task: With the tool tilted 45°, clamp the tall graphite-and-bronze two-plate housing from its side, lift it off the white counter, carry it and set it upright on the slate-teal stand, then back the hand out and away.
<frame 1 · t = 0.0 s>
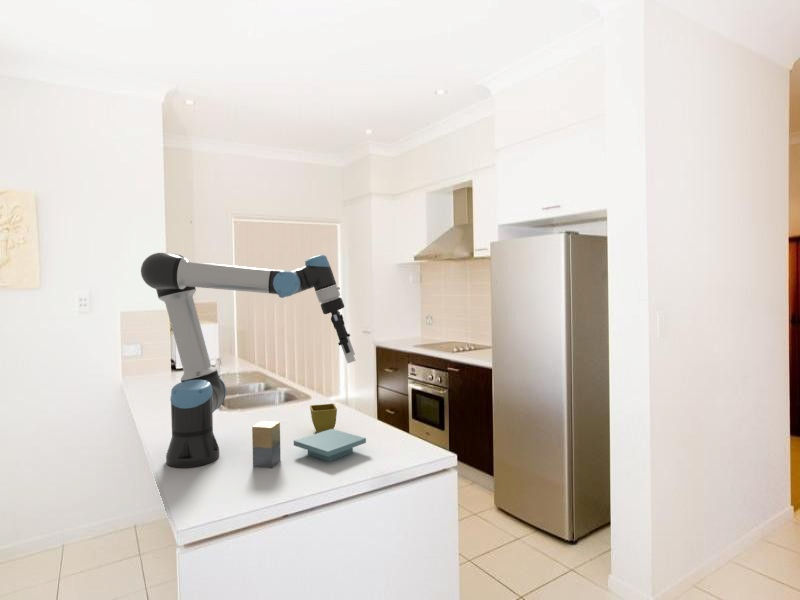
hand: (351, 358, 172), 28 cm above the counter, tool tilted 20°, fingers open, 13 cm apart
housing: (267, 463, 151), on the counter
flower pot: (323, 432, 182), on the counter
teal stand: (330, 453, 159), on the counter
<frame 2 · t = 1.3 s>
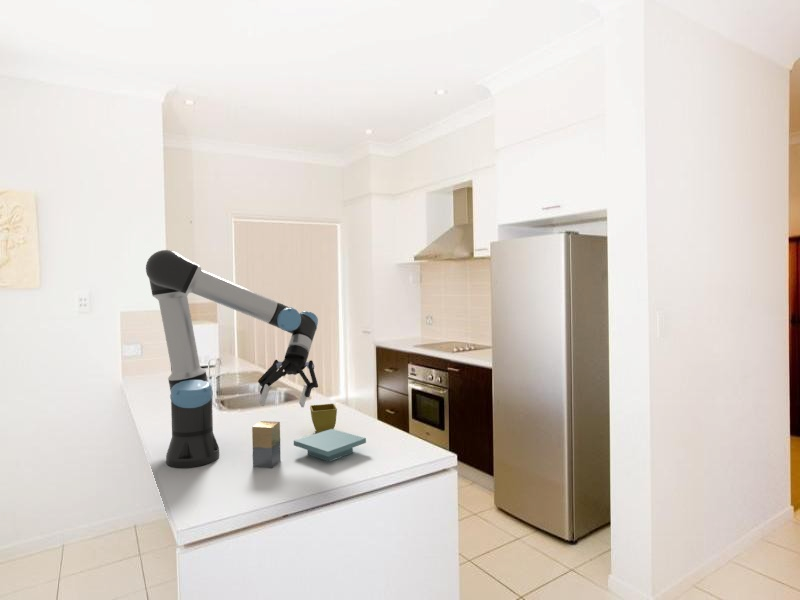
hand: (281, 404, 161), 15 cm above the counter, tool tilted 45°, fingers open, 13 cm apart
nothing on the counter moved.
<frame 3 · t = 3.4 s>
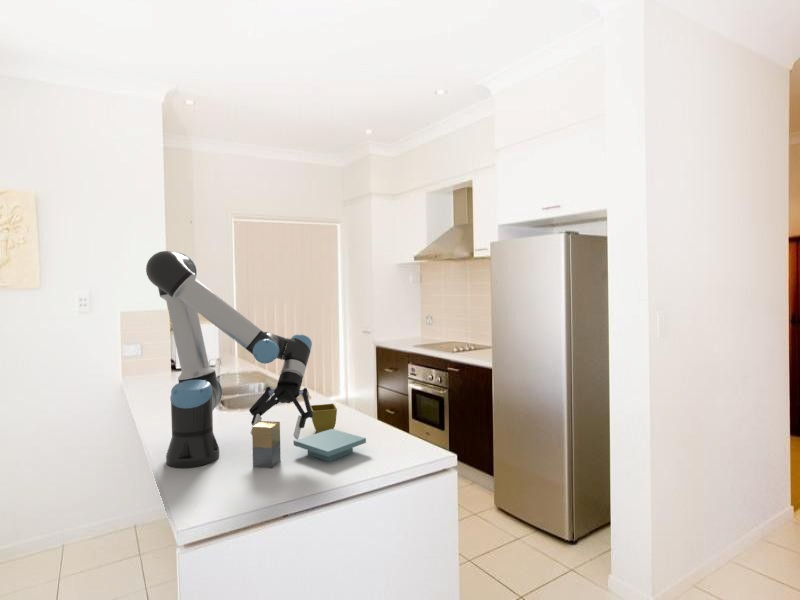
hand: (274, 436, 152), 8 cm above the counter, tool tilted 45°, fingers open, 13 cm apart
nothing on the counter moved.
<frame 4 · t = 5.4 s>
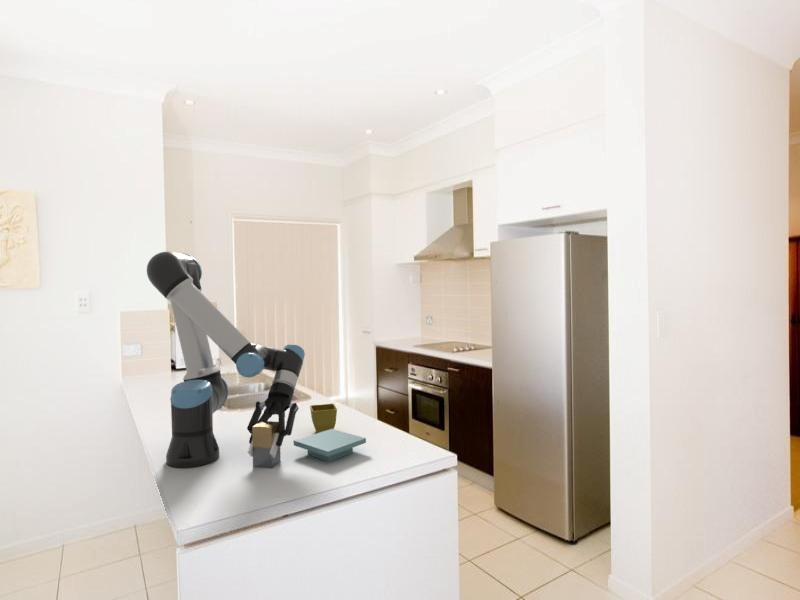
hand: (261, 455, 147), 4 cm above the counter, tool tilted 45°, fingers closed on housing, 6 cm apart
housing: (267, 463, 151), on the counter, touching gripper
everything else where it was.
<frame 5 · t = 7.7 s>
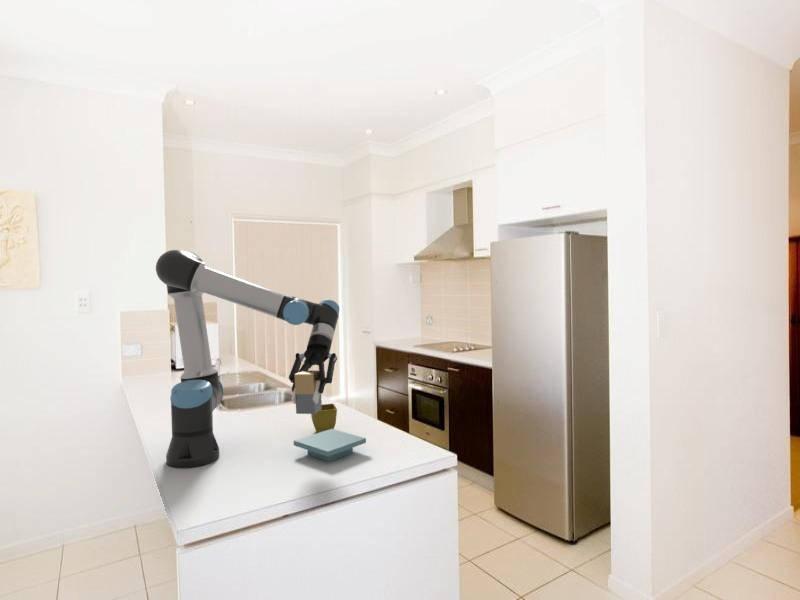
hand: (304, 401, 151), 18 cm above the counter, tool tilted 45°, fingers closed on housing, 6 cm apart
housing: (309, 411, 155), point 15 cm above the counter, touching gripper
everything else where it was.
when the fingers open (10 cm above the counter, at t = 10.1 s): housing drops 1 cm, resting on teal stand.
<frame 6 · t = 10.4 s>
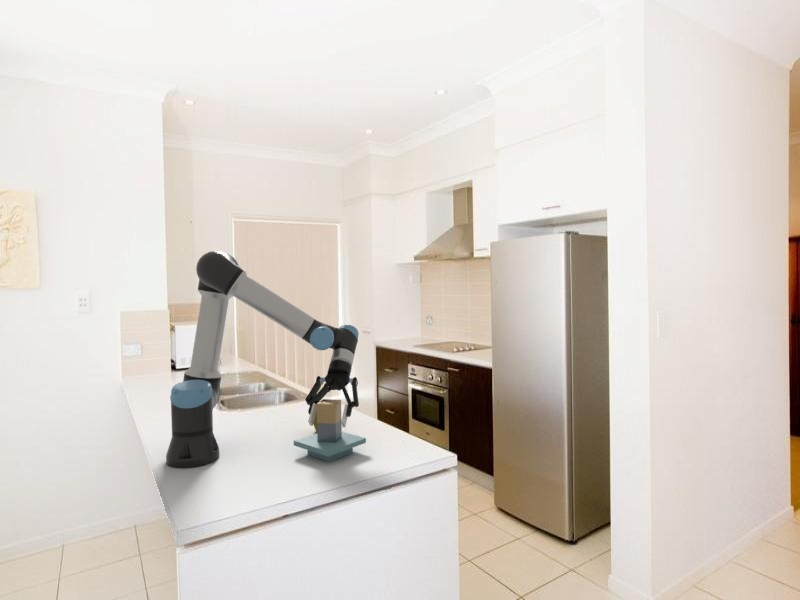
hand: (326, 424, 156), 10 cm above the counter, tool tilted 45°, fingers open, 10 cm apart
housing: (329, 439, 159), point 4 cm above the counter, touching teal stand
everything else where it was.
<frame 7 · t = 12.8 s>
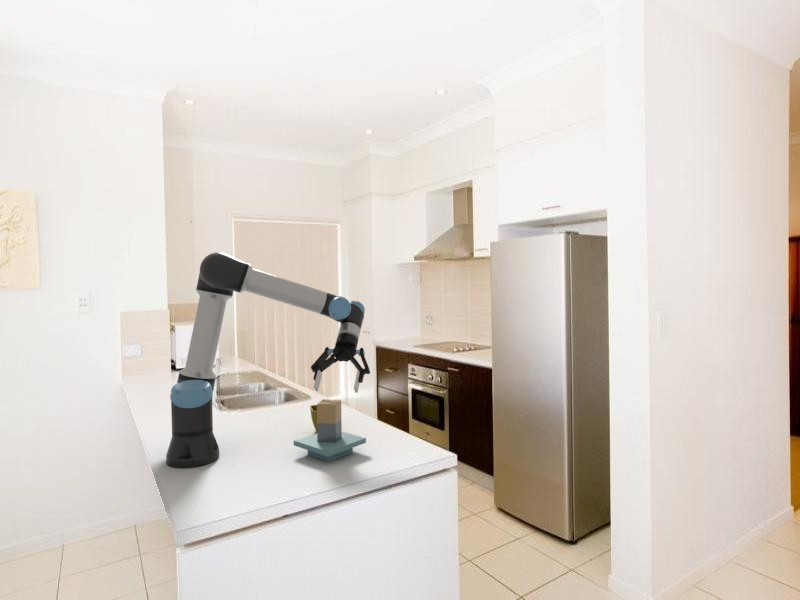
hand: (335, 389, 165), 19 cm above the counter, tool tilted 45°, fingers open, 13 cm apart
nothing on the counter moved.
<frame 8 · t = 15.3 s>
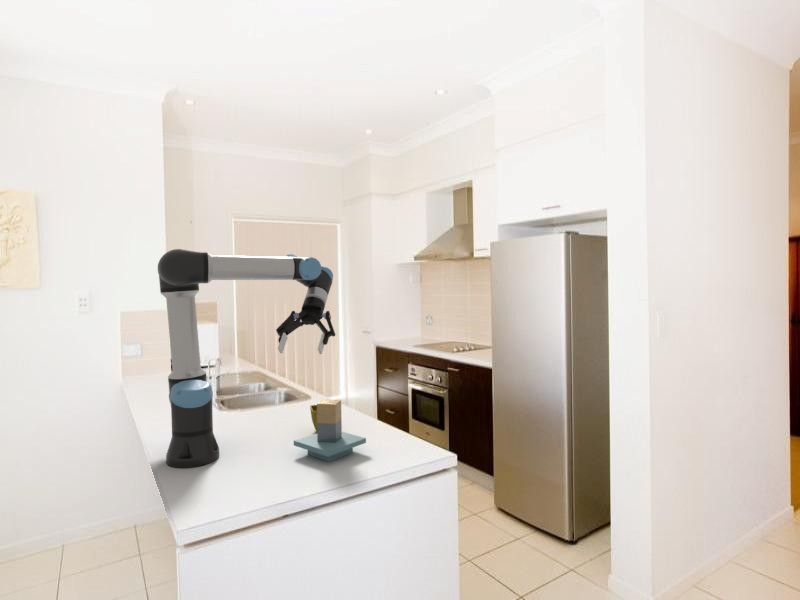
hand: (299, 351, 164), 32 cm above the counter, tool tilted 45°, fingers open, 13 cm apart
nothing on the counter moved.
at the end: housing inside the target area on the teal stand (0.1 cm from its centre), point 4.5 cm above the teal stand's base; housing tilted 0°; the gripper is holding nothing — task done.
